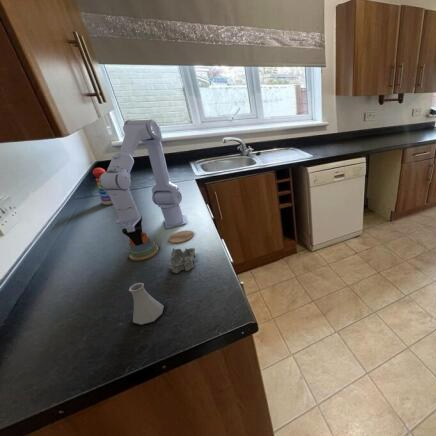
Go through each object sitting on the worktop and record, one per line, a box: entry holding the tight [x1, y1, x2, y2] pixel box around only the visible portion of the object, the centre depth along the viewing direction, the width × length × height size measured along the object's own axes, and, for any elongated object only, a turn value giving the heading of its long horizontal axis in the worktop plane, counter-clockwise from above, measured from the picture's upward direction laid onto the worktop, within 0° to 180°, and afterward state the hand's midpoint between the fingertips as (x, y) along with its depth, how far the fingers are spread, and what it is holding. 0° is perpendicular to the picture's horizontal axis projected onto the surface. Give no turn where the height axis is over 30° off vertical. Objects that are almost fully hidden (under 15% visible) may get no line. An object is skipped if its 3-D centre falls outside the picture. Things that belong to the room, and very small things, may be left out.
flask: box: [128, 282, 165, 326], centre depth 71 cm, size 7×7×10 cm
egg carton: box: [168, 247, 196, 274], centre depth 93 cm, size 11×8×4 cm
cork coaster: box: [168, 230, 195, 244], centre depth 109 cm, size 9×9×1 cm
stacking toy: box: [92, 167, 113, 206], centre depth 138 cm, size 8×8×19 cm
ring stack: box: [128, 236, 160, 262], centre depth 98 cm, size 9×9×8 cm
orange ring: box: [128, 232, 149, 246], centre depth 97 cm, size 5×5×2 cm
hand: (139, 240), depth 97 cm, fingers closed on orange ring, 5 cm apart
